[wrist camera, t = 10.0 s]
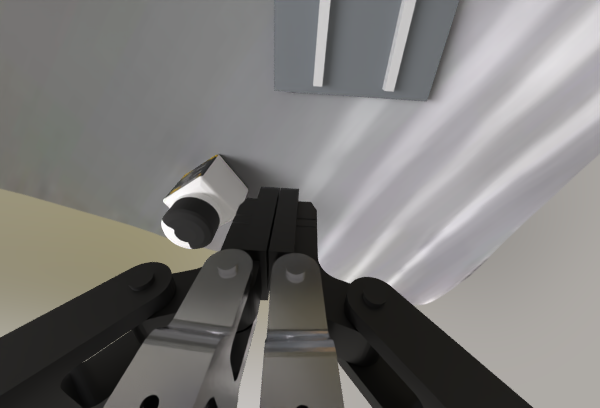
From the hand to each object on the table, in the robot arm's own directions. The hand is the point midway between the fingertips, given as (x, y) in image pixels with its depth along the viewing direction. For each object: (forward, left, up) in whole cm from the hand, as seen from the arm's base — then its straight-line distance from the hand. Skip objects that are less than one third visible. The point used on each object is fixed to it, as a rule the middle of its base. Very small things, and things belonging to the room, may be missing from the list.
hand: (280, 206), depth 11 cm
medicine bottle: (-12, -14, -25) cm, 31 cm away
